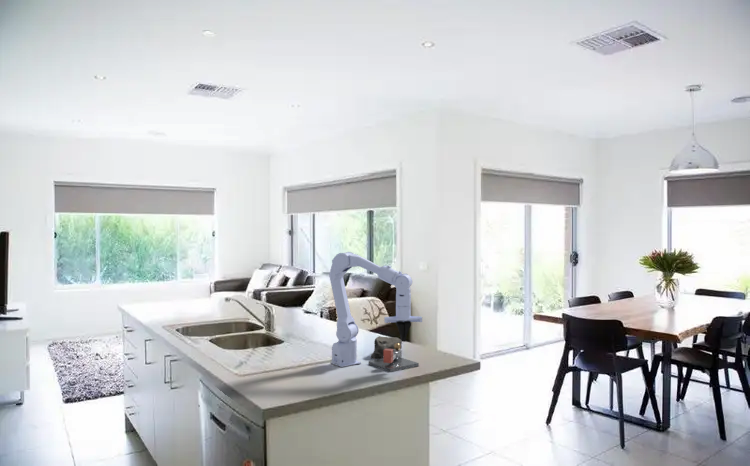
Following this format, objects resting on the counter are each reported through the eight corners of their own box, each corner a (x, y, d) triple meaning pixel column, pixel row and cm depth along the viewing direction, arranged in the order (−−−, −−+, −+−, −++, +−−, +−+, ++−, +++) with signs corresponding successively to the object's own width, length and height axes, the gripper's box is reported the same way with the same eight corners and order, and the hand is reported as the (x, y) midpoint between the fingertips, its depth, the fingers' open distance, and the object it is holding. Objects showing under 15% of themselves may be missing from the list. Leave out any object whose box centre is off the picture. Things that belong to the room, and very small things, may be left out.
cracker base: (390, 371, 194) (390, 353, 194) (368, 364, 206) (368, 346, 206) (419, 365, 203) (419, 348, 203) (396, 358, 214) (396, 341, 214)
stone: (389, 355, 211) (377, 333, 214) (373, 365, 214) (362, 343, 217) (408, 348, 227) (397, 328, 230) (393, 358, 230) (382, 337, 233)
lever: (392, 357, 210) (392, 343, 210) (399, 357, 209) (399, 344, 209) (383, 364, 199) (383, 350, 199) (391, 364, 198) (391, 350, 198)
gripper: (419, 303, 205) (419, 338, 205) (383, 304, 203) (383, 339, 203) (423, 306, 198) (423, 342, 198) (386, 307, 196) (385, 343, 196)
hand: (403, 341), depth 200 cm, fingers closed
